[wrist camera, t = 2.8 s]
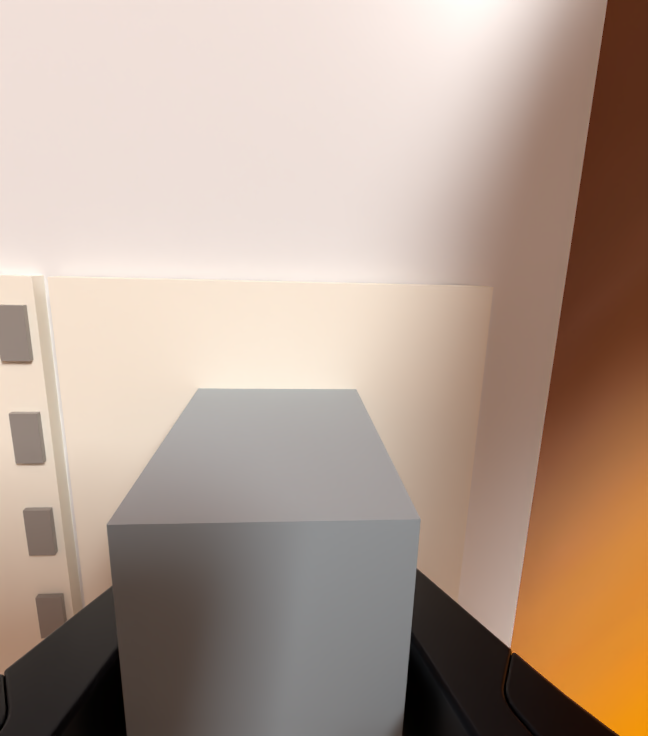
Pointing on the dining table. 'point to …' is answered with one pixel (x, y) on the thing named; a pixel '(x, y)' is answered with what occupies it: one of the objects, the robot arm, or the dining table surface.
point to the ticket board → (286, 210)
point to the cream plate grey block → (267, 488)
